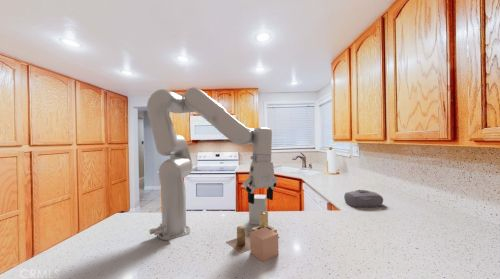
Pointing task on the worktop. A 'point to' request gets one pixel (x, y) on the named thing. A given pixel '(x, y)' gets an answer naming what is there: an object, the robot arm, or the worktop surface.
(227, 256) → the worktop surface
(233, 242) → the board
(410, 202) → the worktop surface
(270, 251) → the salmon pink cube
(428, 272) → the worktop surface
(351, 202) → the small grey backpack
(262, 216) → the peg
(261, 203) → the supplement box
